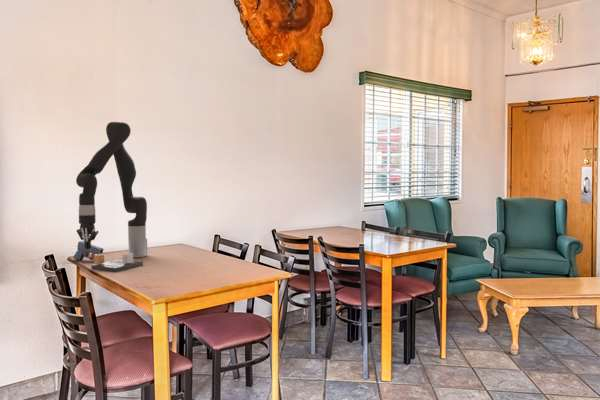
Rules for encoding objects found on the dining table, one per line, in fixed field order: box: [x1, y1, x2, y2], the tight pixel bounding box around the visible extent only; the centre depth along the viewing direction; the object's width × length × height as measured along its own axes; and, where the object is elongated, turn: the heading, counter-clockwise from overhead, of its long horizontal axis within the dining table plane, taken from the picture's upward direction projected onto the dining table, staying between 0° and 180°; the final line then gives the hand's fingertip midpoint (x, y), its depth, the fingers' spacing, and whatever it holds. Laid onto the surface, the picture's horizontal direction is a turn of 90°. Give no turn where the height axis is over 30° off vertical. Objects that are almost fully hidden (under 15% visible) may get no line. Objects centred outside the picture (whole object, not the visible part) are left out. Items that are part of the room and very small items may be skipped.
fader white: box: [122, 252, 134, 263], centre depth 239 cm, size 4×3×5 cm
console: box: [90, 258, 144, 273], centre depth 240 cm, size 18×16×2 cm
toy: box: [72, 240, 104, 261], centre depth 256 cm, size 3×16×10 cm, turn 77°
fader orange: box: [93, 253, 105, 264], centre depth 236 cm, size 4×3×5 cm
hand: (87, 248), depth 239 cm, fingers closed
